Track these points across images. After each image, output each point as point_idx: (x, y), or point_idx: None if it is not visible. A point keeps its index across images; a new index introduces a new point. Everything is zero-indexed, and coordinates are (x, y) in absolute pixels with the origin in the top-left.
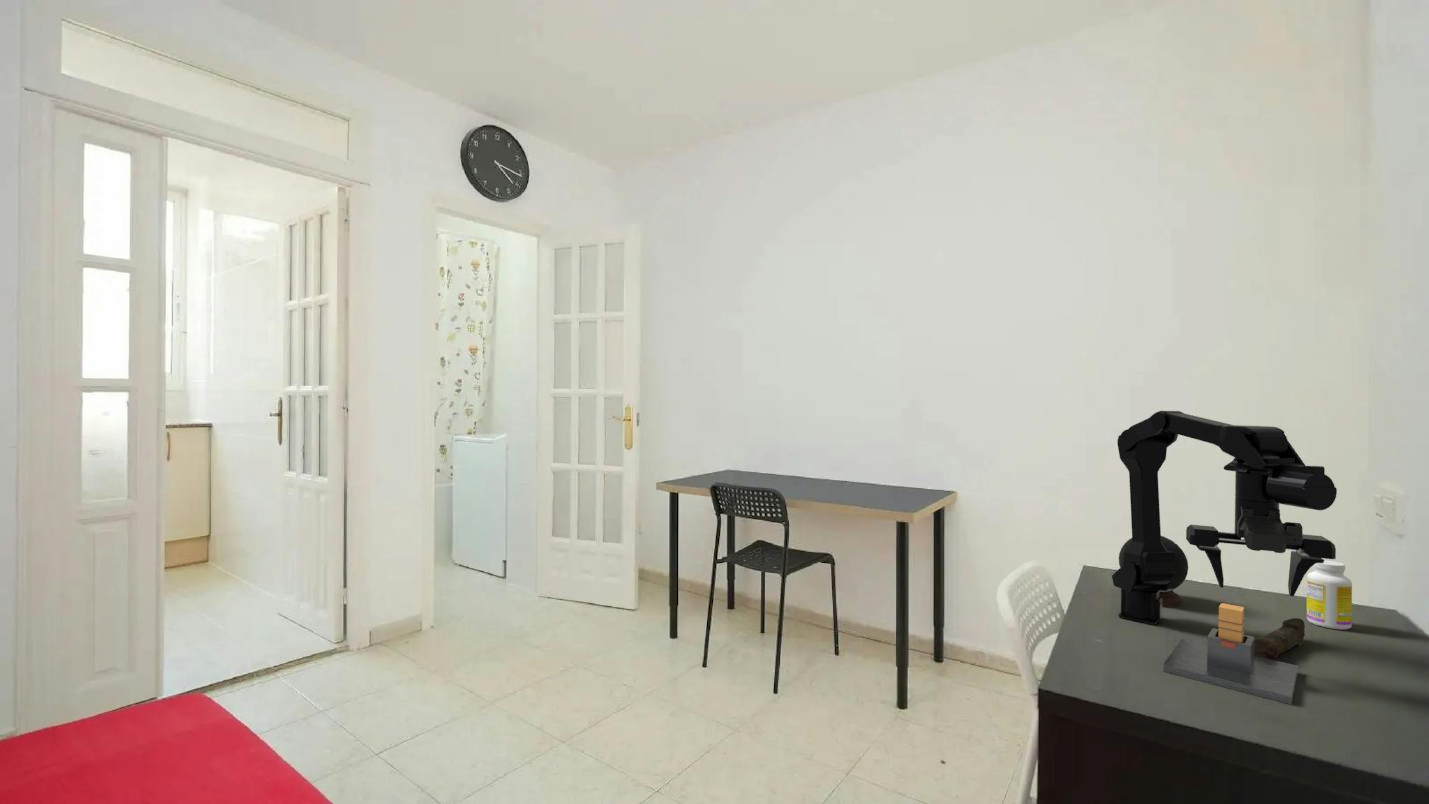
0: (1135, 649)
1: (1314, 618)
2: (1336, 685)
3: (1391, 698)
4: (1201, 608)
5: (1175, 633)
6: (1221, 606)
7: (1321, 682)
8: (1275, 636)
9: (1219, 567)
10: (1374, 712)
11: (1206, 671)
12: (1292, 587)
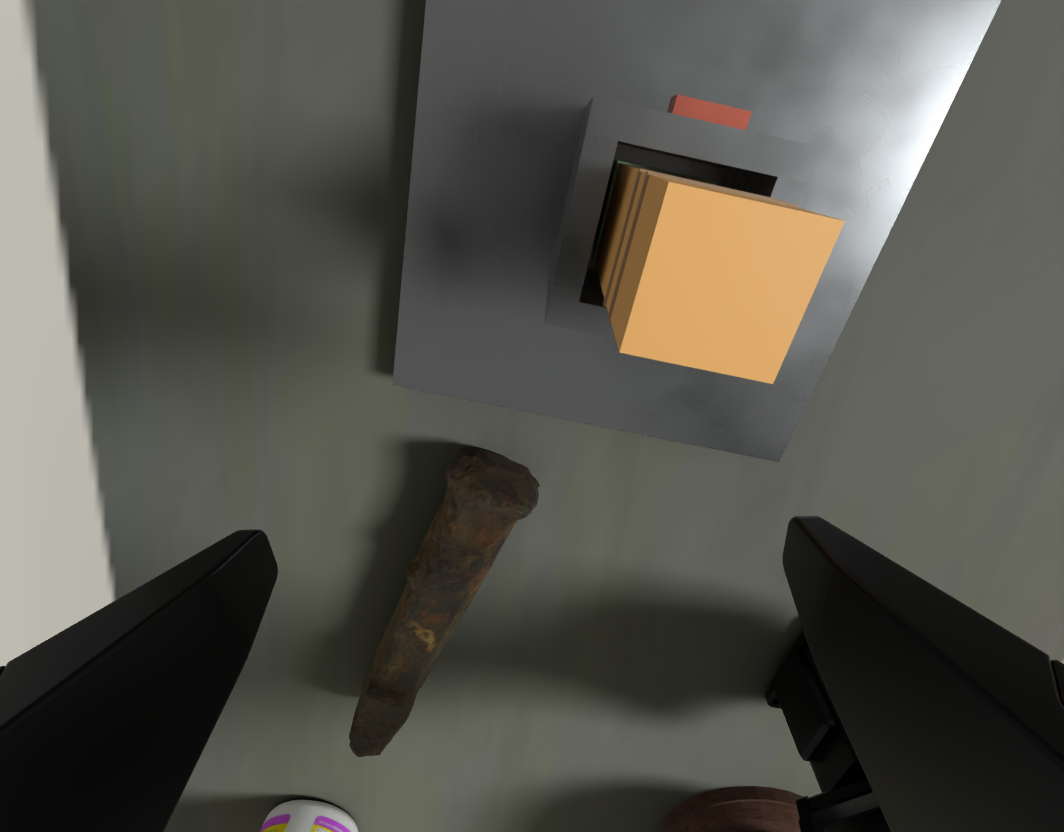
0: (1002, 284)
1: (337, 829)
2: (288, 311)
3: (134, 279)
4: (611, 816)
5: (752, 573)
6: (810, 262)
7: (331, 313)
8: (443, 566)
9: (1013, 682)
10: (159, 40)
11: (791, 12)
12: (194, 578)
